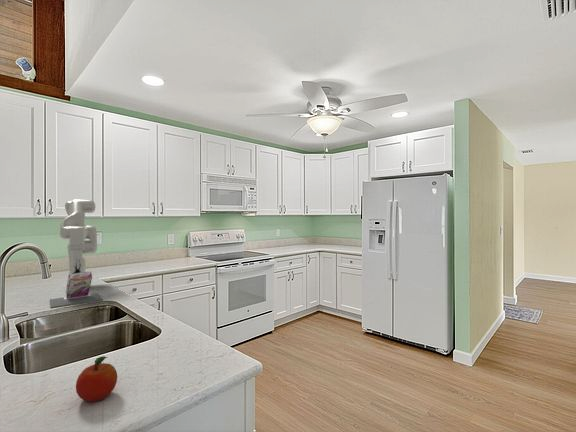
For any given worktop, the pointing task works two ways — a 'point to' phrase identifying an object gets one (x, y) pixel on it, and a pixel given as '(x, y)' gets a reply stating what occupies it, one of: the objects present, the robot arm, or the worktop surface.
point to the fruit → (96, 381)
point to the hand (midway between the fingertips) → (77, 278)
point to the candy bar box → (78, 284)
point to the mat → (74, 300)
